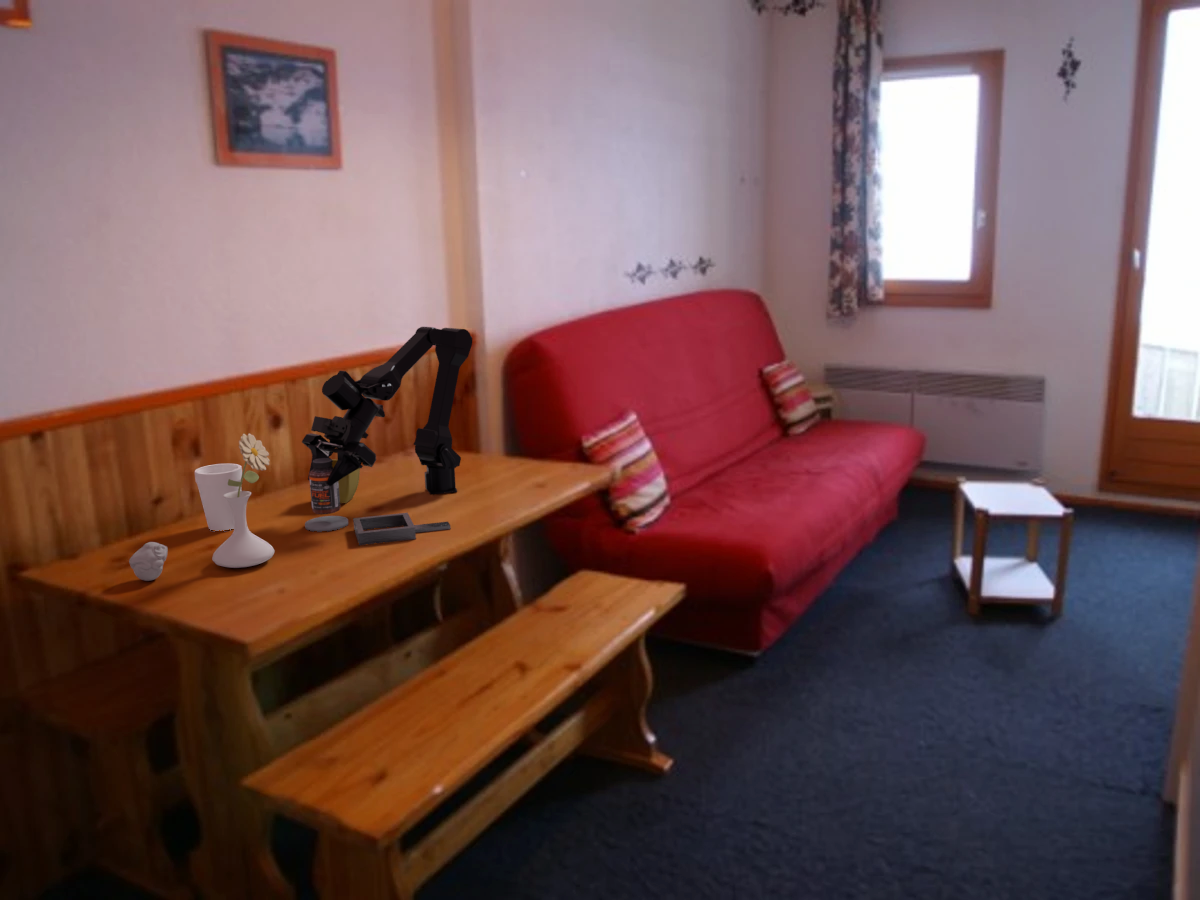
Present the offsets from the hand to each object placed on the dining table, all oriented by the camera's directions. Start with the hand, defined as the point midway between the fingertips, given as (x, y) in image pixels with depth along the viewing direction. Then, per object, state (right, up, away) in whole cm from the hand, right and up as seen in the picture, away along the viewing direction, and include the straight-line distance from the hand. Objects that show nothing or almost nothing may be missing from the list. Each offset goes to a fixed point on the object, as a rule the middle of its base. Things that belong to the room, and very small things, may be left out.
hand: (318, 482), depth 219 cm
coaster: (+1, -9, +3) cm, 10 cm away
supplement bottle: (+1, -6, +3) cm, 7 cm away
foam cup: (-21, -10, +3) cm, 24 cm away
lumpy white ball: (-23, -17, -28) cm, 40 cm away
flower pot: (-1, -5, +22) cm, 23 cm away
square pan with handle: (+18, -10, -3) cm, 21 cm away
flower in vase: (-8, -15, -19) cm, 26 cm away
